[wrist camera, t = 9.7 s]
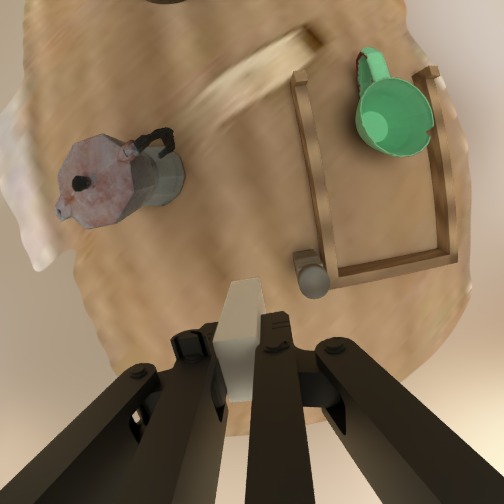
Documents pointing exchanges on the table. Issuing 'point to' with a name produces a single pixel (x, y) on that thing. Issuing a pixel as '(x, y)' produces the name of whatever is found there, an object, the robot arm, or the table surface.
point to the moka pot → (117, 178)
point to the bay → (307, 262)
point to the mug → (390, 109)
